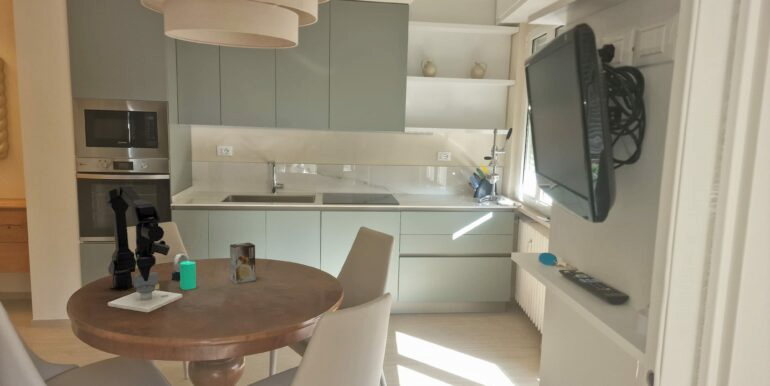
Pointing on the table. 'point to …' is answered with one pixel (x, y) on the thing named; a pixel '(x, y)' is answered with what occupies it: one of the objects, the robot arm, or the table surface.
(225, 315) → the table surface
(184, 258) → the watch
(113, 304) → the post plate
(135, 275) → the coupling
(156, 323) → the table surface
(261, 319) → the table surface
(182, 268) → the candle
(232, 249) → the coffee box
